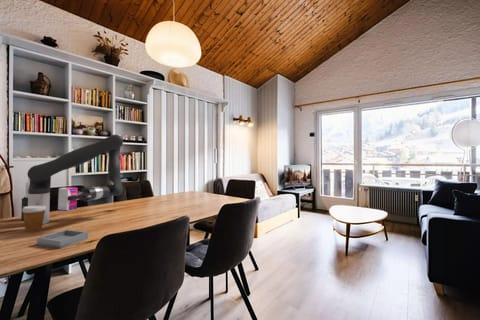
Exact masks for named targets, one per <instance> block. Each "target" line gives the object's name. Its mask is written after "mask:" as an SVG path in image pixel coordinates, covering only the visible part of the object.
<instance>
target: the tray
mask: <svg viewBox="0 0 480 320" xmlns="http://www.w3.org/2000/svg"><path fill="white" fill-rule="evenodd" d="M84 240H89V231H84V230H83V231H82V230H75V229H74V230H73V229H67V228H65V229H64V230H60V231H57V232H54V233H50V234H46V235H42V236H40V237H37V238H36V245H37V246H41V247H46V248H47V247H48V248H53V249H63V248H65V247H68V246H69V247H70V246H71V245H74V244H77V243H79V242H82V241H84Z"/></svg>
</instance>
